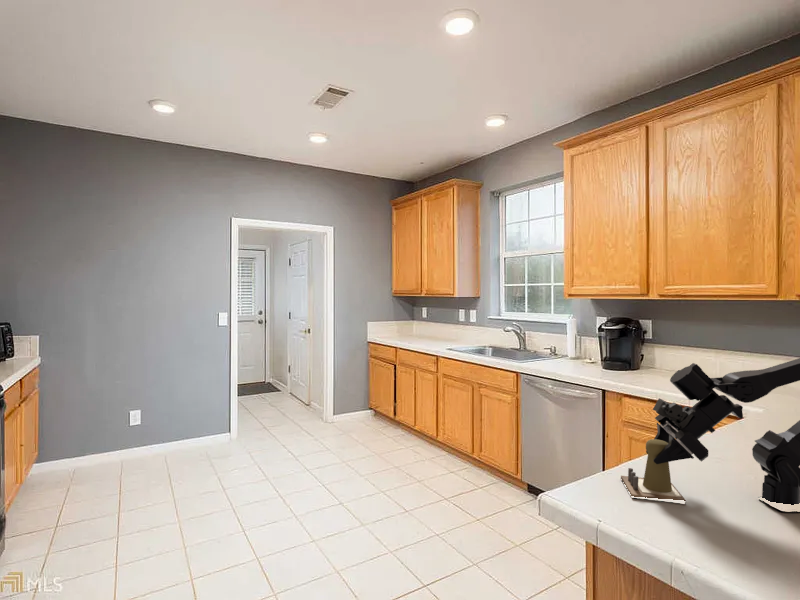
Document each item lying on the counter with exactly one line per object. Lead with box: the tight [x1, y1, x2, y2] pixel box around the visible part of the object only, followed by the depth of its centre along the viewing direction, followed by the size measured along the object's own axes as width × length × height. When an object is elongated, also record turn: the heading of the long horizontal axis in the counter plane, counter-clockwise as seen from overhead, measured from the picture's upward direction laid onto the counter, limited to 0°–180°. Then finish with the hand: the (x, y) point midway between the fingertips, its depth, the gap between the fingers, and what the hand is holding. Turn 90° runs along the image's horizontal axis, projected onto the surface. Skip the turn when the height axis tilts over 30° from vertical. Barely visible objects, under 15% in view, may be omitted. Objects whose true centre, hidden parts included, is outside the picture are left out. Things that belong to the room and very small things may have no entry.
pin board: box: [620, 467, 687, 502], centre depth 108 cm, size 11×11×4 cm
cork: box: [643, 438, 672, 493], centre depth 107 cm, size 6×6×11 cm
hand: (650, 457), depth 108 cm, fingers open, 6 cm apart
